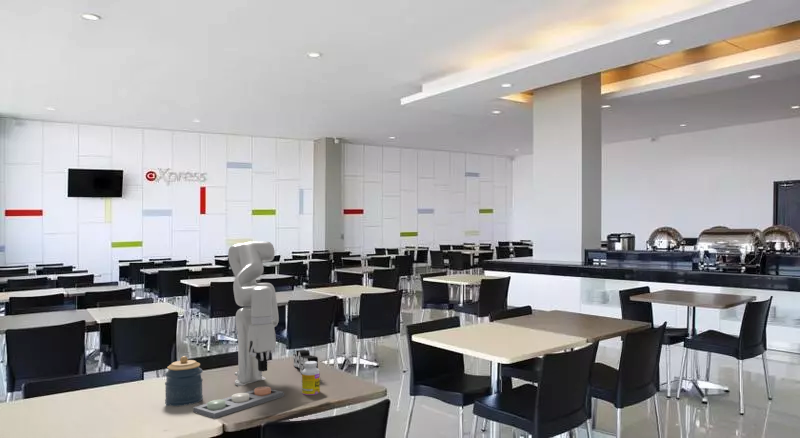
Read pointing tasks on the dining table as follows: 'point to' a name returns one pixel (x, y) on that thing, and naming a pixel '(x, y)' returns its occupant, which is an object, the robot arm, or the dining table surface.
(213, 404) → the button sage
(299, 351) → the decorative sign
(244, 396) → the button cream
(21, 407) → the dining table surface
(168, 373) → the canister
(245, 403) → the button panel
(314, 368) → the supplement bottle
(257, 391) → the button terracotta
